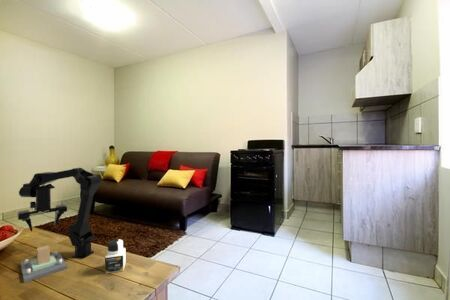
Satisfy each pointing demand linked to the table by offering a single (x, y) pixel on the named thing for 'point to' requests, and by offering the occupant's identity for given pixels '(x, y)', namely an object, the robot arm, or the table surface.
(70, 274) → the table surface
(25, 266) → the standoff plate
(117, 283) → the table surface
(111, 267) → the medicine bottle
